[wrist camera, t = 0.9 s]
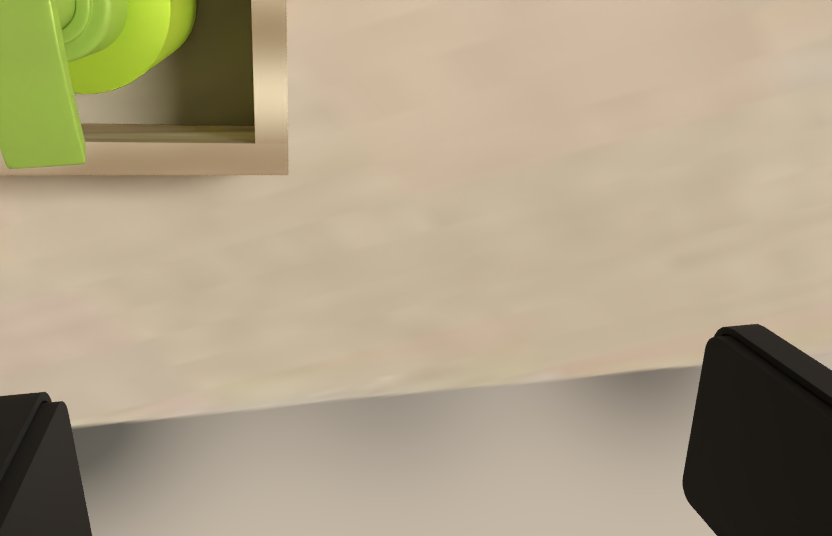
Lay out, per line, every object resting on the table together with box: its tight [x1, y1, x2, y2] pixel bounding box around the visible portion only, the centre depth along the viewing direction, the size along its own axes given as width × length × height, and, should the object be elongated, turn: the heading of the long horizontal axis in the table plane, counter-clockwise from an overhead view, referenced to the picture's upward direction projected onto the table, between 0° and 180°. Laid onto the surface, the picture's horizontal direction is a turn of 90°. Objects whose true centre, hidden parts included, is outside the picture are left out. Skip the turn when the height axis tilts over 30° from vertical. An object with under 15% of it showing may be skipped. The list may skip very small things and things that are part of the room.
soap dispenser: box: [0, 0, 197, 169], centre depth 25 cm, size 6×7×20 cm
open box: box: [0, 0, 288, 175], centre depth 32 cm, size 14×14×5 cm
